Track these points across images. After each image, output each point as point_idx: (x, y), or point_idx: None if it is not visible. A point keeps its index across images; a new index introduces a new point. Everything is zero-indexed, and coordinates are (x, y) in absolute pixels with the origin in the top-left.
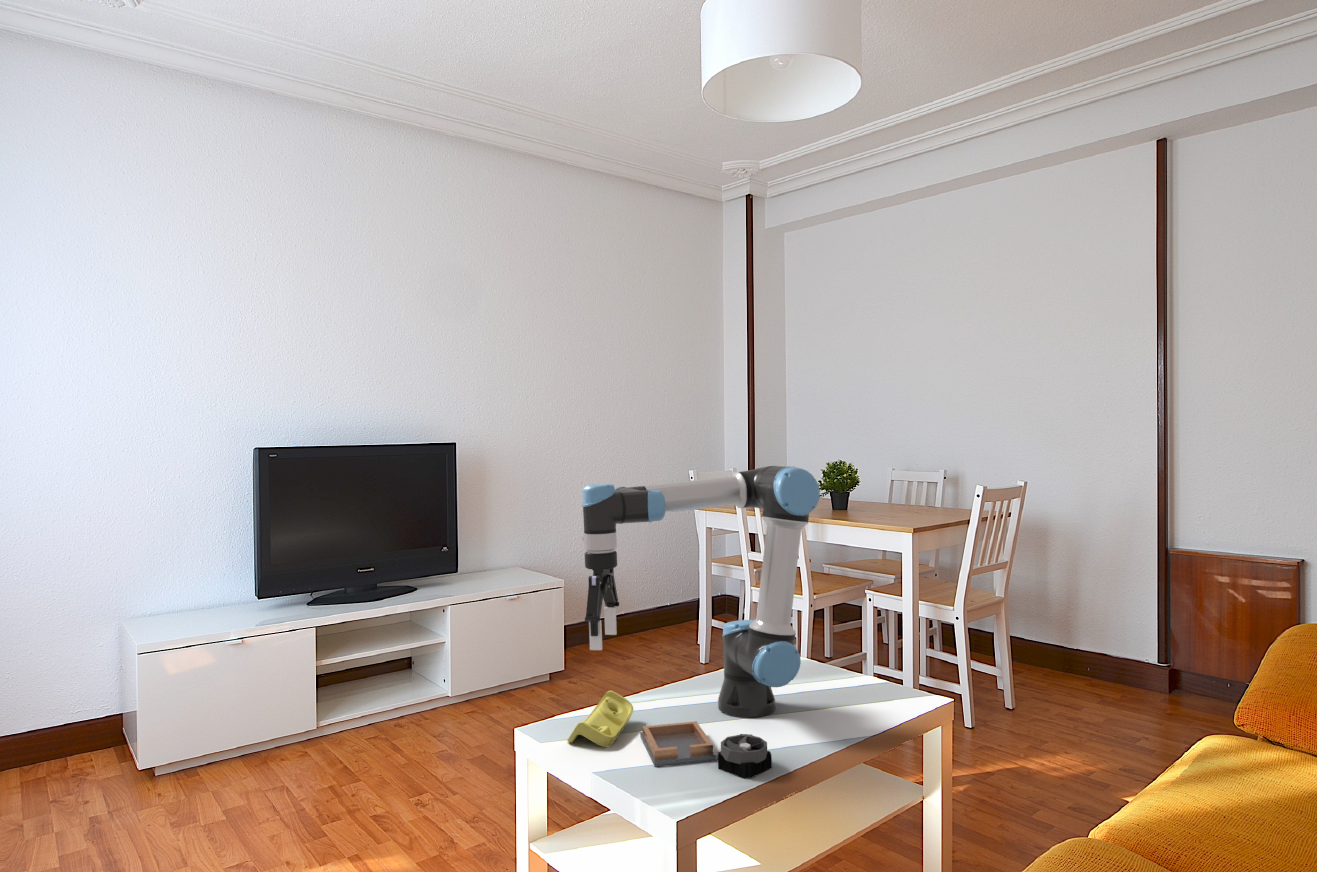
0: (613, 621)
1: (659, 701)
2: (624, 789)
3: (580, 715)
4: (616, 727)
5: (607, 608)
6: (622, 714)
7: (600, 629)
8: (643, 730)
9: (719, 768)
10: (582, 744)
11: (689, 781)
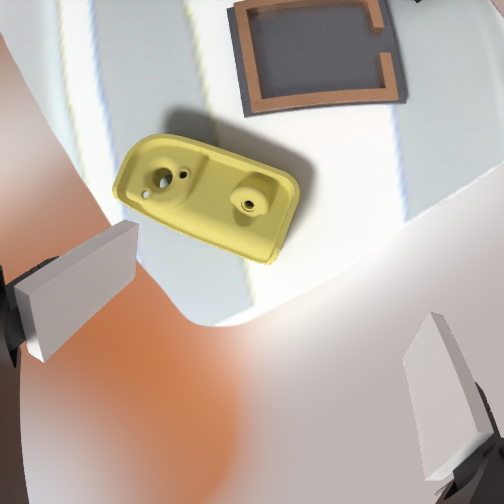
0: (94, 264)
1: (75, 96)
2: (478, 173)
3: None
4: (215, 167)
5: (42, 341)
6: (177, 156)
7: (475, 391)
8: (266, 110)
9: (419, 1)
10: None
11: (464, 61)
